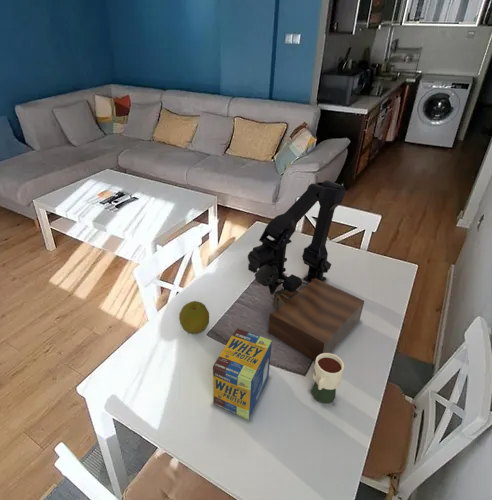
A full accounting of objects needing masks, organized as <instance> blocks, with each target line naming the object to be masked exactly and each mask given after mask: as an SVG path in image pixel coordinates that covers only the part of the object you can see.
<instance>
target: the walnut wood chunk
mask: <svg viewBox="0 0 492 500" xmlns="http://www.w3.org/2000/svg"><path fill="white" fill-rule="evenodd" d="M364 304H365V300H364V299H361V298H359V297H357V296H355V295H353V294H351V293H348V292H346V291H344V290H342V289H340V288H338V287H335V286H333V285H331V284H329V283H328V282H327V283H326V282H325V281H324V282H323V281H320V280H318V279H316V278H315V279H312V280H311V282H310V283H309V282H308V284H306V285H305V286H304V287H303V288H301V290H300V291H298V293H297V294H296V295H295V296H294V297H292V298H291V299H290V300H289V301H288V302H287V303H285V304H284V305H283V306H282V307H281V308H279V309H278V308H277V310H276V311H275V312H271V313H270V314H269V324H268V334H270V335H271V336H273V337H275V338H276V339H278V340H280V341H281V342H283V343H285V344H286V345H288V346H290V347H291V348H293V349H294V350H295V351H297V352H299V353H301V354H303V355H304V356H306V357H308V358H309V359H311V360H313V361H314V362H315V361H316V358H317V356H318V355H320V354H323V353H331V354H332V352H333V351H334V350H335V349H336V348H337V347H338V346H339V344H341V342H342V341H343V340H344V339H345V338H346V337H347V336H348V335H349V333H350V332H351V331H352V330H353V329H354V328H355V327H356V325H357V324H359V322H360V321H361V316H362V312H363V308H364Z"/></svg>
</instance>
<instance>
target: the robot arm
mask: <svg viewBox="0 0 492 500" xmlns="http://www.w3.org/2000/svg"><path fill="white" fill-rule="evenodd" d="M345 196H346V188H345V186H344V185H342V184H339V183H338V182H337V183H336V182H334V181H331V180H328V179H327V180H324V181H317V182H315V183H310V184H309V185H308V186H307V188H306V190H305V191H304V192H303V193H302V194H301V195H300V197H299V198H298V199H296V201H295V202H294V203H293V204H292V205H291V206H290V207H289V208H288V209H287V210H286V211H285V212H284V213H282V214H279V215H276V216H275V217H273V218H272V219H271V220H270V221H269V222H268V223H267V225H266V226H265V228H264V230H263V232H262V234H261V235H260V237H259V239H258V241H259V242H261V244H260V245H258V246H255V247H253V248H252V250H250V251H249V252H248V254H247V260H248V266H247V270H248V271H250V272H251V273H253V274H254V278H255V282H256V283H257V284H260V285H262V286H263V287H268V290H269V292H270V294H271V295H274V292H276V291H277V289H278V288H279V286H282V289H285V290H287V291H289V292H294V291H295V290H297V289H299V288H301V286H302V285H303V281H304V282H307V283H308V284H309V283H310V282H311V280H312V279H315V278H316V279H318V280H320V281H323V282H325V281H326V280H327V277H325V276H324V273H325V274H327V273H328V272H329V270H331V267H332V263H331V262H329V261H328V256H329V253H328V249H327V247H326V246H327V245H326V244H327V241H328V237H329V233H330V228H331V225H332V222H333V217H334V214H335V210H336V208H337V207H339V206H340V205H341V204H342V203H343V200H344V197H345ZM317 203H318V205H319V210H318V213H317V218H316V222H315V226H314V230H313V234H312V239H311V242H310V243H309V244H308V246H307V247H304V248H303V253H302V255H301V257H302V261H303V264H304V265H307V266H308V270H307V275H305V276H304V277H303V279H302V278H301V277H299V276H297V275H295V274H290V275H289V276H288V273H285V272H286V271H287V270H286V269H287V268H286V267H285V263H286V262H287V260H288V258H287V257H286V254H287V253H286V252H287V245H288V244H291V243H292V240H291V237H292V236H293V235H294V233H295V232H296V226H297V225H298V223H299V222H300V221H301V220H302V218H303V217H304V216H305V215H307V214H308V212H309V211H310V210H312V208H313V207H314V205H316V204H317ZM269 237H270V238H269Z"/></svg>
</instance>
